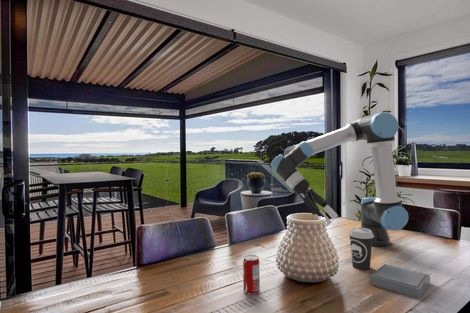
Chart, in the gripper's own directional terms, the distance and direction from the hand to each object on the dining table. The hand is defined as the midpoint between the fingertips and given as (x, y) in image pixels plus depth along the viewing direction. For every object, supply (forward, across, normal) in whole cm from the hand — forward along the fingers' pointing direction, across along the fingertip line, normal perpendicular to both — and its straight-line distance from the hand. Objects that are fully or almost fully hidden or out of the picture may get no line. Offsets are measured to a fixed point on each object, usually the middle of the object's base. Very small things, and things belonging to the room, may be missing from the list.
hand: (332, 221), depth 124 cm
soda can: (-1, +39, -26) cm, 47 cm away
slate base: (+30, +10, +5) cm, 32 cm away
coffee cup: (+20, 0, -5) cm, 21 cm away
